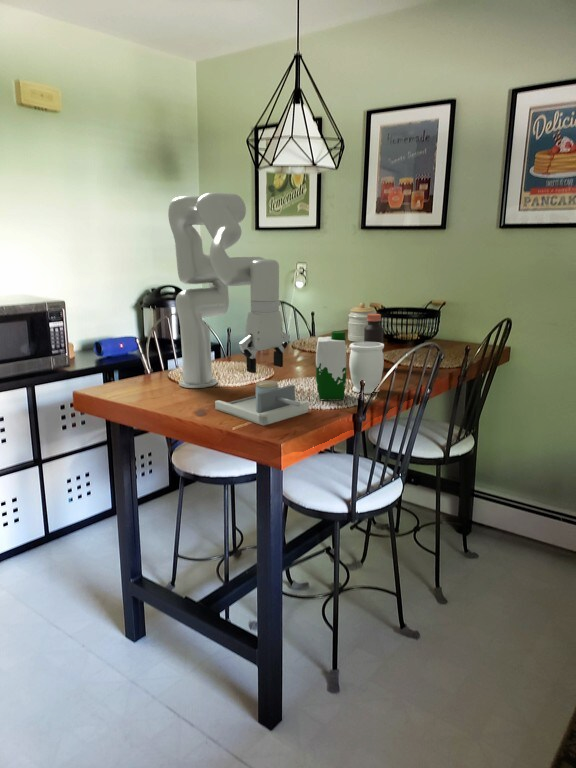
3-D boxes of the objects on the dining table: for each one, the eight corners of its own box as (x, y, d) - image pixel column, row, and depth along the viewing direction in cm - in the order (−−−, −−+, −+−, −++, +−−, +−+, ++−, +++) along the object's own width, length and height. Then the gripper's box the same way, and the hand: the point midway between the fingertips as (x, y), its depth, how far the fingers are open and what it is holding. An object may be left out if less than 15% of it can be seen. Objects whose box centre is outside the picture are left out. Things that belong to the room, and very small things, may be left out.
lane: (215, 409, 162) (214, 399, 161) (259, 397, 173) (259, 388, 172) (263, 425, 147) (263, 414, 146) (308, 412, 158) (308, 401, 157)
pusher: (258, 416, 151) (257, 393, 150) (292, 407, 159) (291, 384, 158) (281, 424, 145) (281, 399, 143) (315, 414, 153) (315, 390, 151)
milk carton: (346, 401, 168) (347, 334, 163) (316, 401, 168) (316, 334, 164) (344, 393, 177) (345, 329, 172) (315, 393, 177) (315, 329, 172)
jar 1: (352, 343, 260) (353, 304, 256) (344, 338, 273) (344, 301, 268) (379, 341, 263) (380, 303, 258) (369, 337, 275) (370, 300, 271)
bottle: (371, 365, 214) (372, 312, 209) (385, 368, 209) (387, 314, 204) (359, 368, 209) (360, 314, 204) (374, 371, 204) (376, 316, 199)
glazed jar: (251, 410, 158) (250, 382, 156) (268, 405, 162) (268, 378, 160) (266, 415, 154) (265, 387, 152) (283, 410, 158) (283, 382, 156)
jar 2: (379, 386, 184) (380, 340, 180) (385, 394, 174) (387, 346, 170) (346, 387, 184) (347, 341, 180) (351, 395, 174) (352, 347, 170)
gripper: (279, 302, 159) (279, 361, 164) (230, 308, 148) (231, 371, 152) (298, 305, 154) (297, 366, 159) (248, 311, 142) (249, 377, 147)
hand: (265, 369), depth 155 cm, fingers open, 9 cm apart
